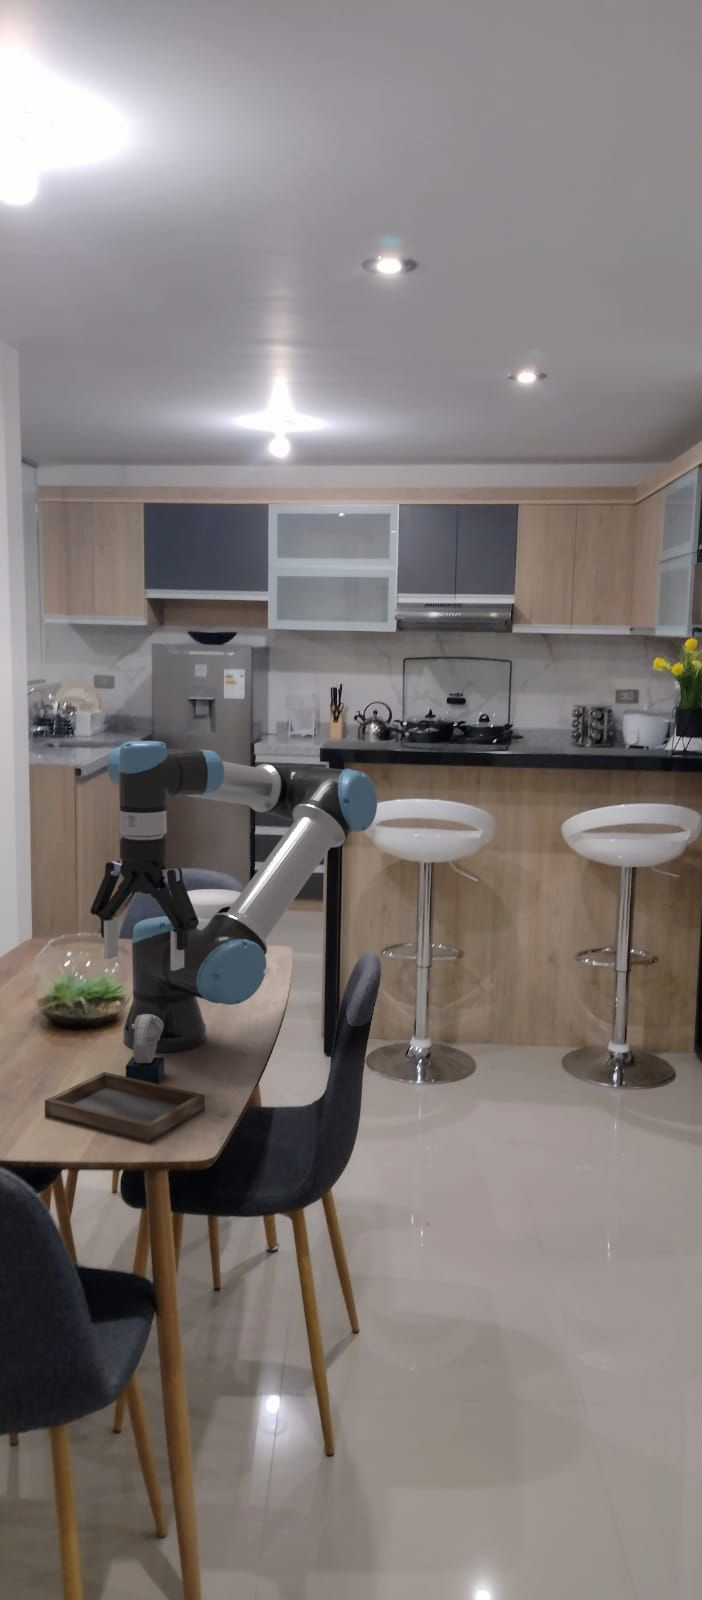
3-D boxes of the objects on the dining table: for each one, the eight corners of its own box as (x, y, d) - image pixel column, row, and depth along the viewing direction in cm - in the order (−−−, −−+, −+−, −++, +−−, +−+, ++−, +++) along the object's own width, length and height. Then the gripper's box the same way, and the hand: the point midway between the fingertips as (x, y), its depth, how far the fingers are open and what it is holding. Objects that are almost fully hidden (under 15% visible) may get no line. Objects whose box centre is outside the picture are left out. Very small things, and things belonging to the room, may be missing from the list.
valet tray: (104, 1087, 185) (104, 1071, 185) (204, 1110, 176) (204, 1094, 176) (44, 1116, 173) (44, 1100, 173) (149, 1143, 164) (149, 1126, 164)
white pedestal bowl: (170, 965, 261) (170, 888, 259) (245, 962, 264) (245, 887, 262) (173, 986, 244) (173, 904, 242) (253, 983, 247) (254, 902, 245)
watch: (166, 1071, 193) (166, 1009, 192) (156, 1088, 185) (156, 1024, 184) (134, 1070, 193) (134, 1008, 192) (122, 1087, 185) (122, 1022, 184)
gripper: (68, 832, 186) (69, 957, 188) (193, 846, 174) (192, 979, 177) (98, 827, 192) (99, 948, 195) (220, 839, 181) (219, 968, 184)
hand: (143, 963), depth 186 cm, fingers open, 13 cm apart
